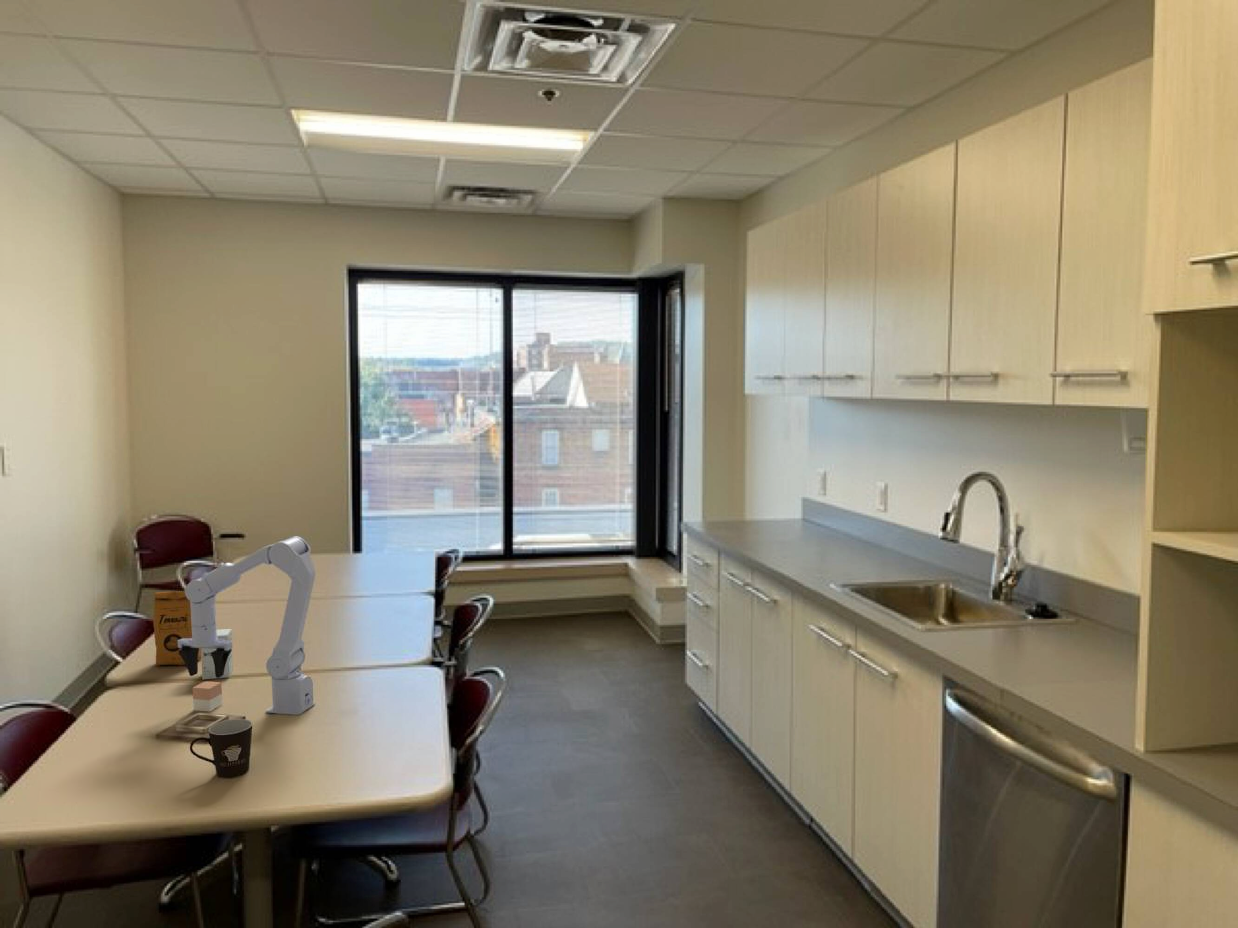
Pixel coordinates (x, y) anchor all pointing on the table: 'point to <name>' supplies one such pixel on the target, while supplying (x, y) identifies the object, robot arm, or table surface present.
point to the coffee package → (171, 626)
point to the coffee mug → (229, 747)
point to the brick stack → (207, 696)
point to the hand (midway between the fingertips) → (206, 675)
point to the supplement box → (207, 659)
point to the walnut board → (194, 726)
